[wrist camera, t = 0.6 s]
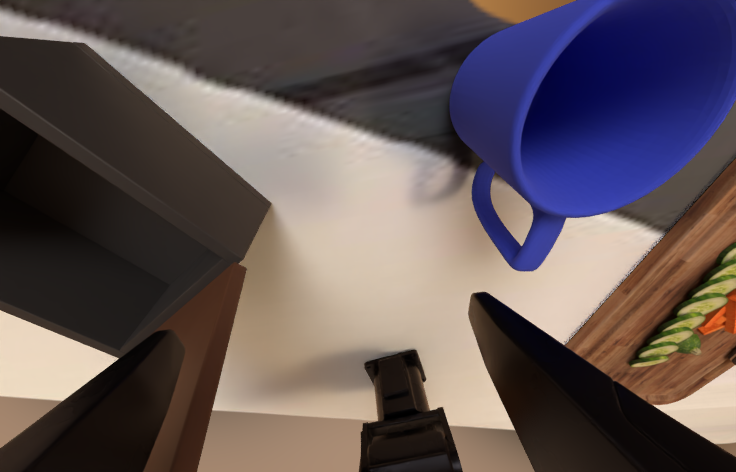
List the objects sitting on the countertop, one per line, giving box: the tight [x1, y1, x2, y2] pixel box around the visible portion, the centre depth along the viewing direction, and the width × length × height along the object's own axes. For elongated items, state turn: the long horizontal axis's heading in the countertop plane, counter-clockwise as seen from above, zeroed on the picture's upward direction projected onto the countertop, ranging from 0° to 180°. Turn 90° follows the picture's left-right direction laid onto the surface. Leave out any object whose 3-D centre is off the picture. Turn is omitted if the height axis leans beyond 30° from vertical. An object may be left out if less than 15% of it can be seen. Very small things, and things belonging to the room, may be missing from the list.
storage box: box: [0, 36, 271, 358], centre depth 17 cm, size 13×13×7 cm
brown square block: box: [144, 262, 247, 472], centre depth 11 cm, size 14×13×1 cm
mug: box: [449, 0, 736, 271], centre depth 15 cm, size 8×12×10 cm
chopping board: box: [565, 158, 736, 405], centre depth 31 cm, size 45×27×3 cm, turn 167°
